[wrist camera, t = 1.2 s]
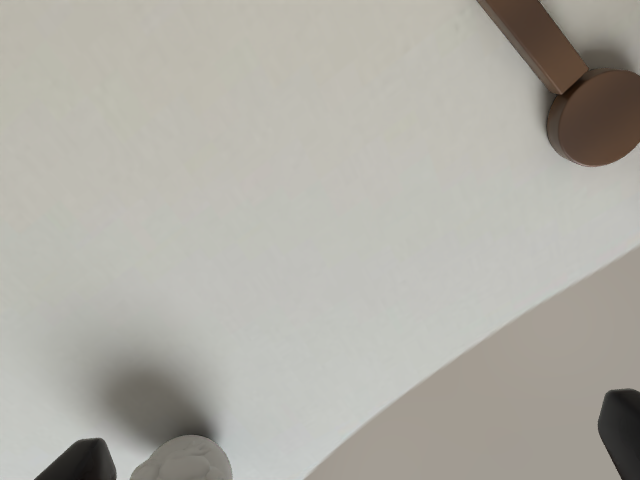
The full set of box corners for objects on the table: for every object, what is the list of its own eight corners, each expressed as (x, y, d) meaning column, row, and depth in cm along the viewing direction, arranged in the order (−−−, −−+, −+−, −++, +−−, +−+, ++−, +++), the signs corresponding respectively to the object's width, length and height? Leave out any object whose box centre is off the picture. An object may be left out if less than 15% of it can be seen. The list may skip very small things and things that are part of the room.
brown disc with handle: (654, 113, 20) (672, 117, 19) (578, 178, 21) (591, 185, 20) (524, -71, 17) (537, -77, 16) (442, 18, 18) (450, 17, 17)
